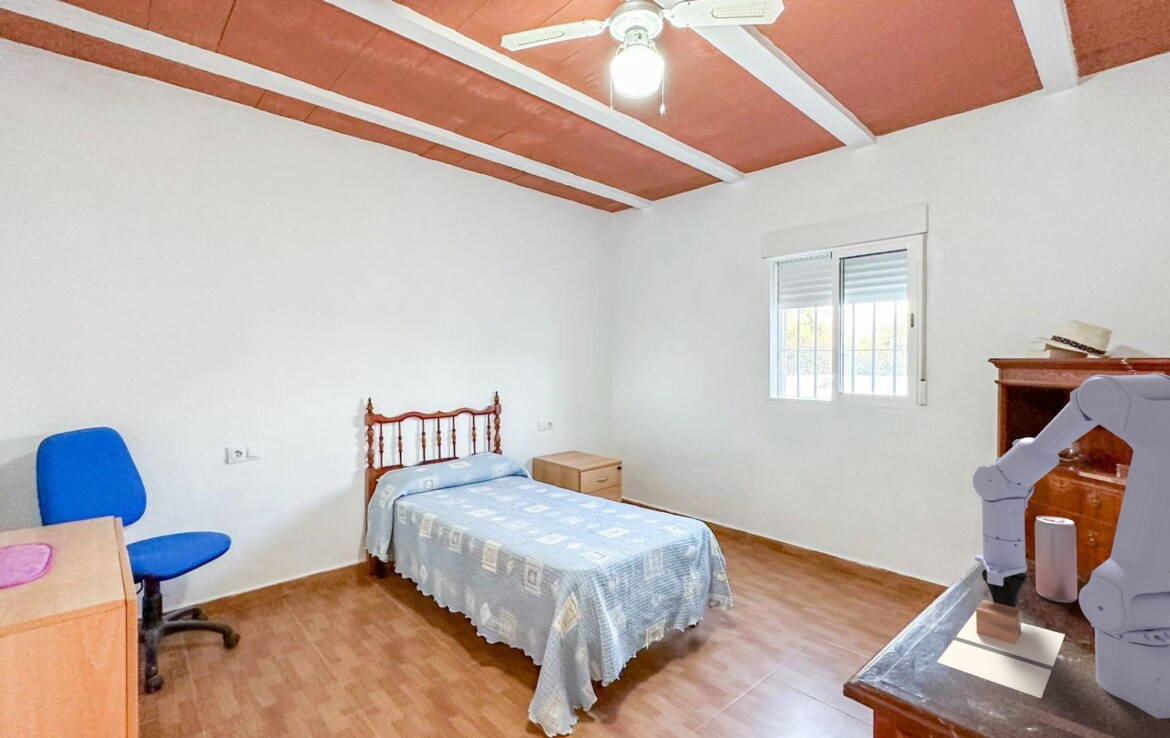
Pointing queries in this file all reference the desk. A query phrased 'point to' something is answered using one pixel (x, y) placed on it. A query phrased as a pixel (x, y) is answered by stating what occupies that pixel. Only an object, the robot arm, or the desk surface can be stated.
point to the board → (1006, 657)
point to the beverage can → (1056, 558)
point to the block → (998, 621)
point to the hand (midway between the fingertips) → (1005, 614)
